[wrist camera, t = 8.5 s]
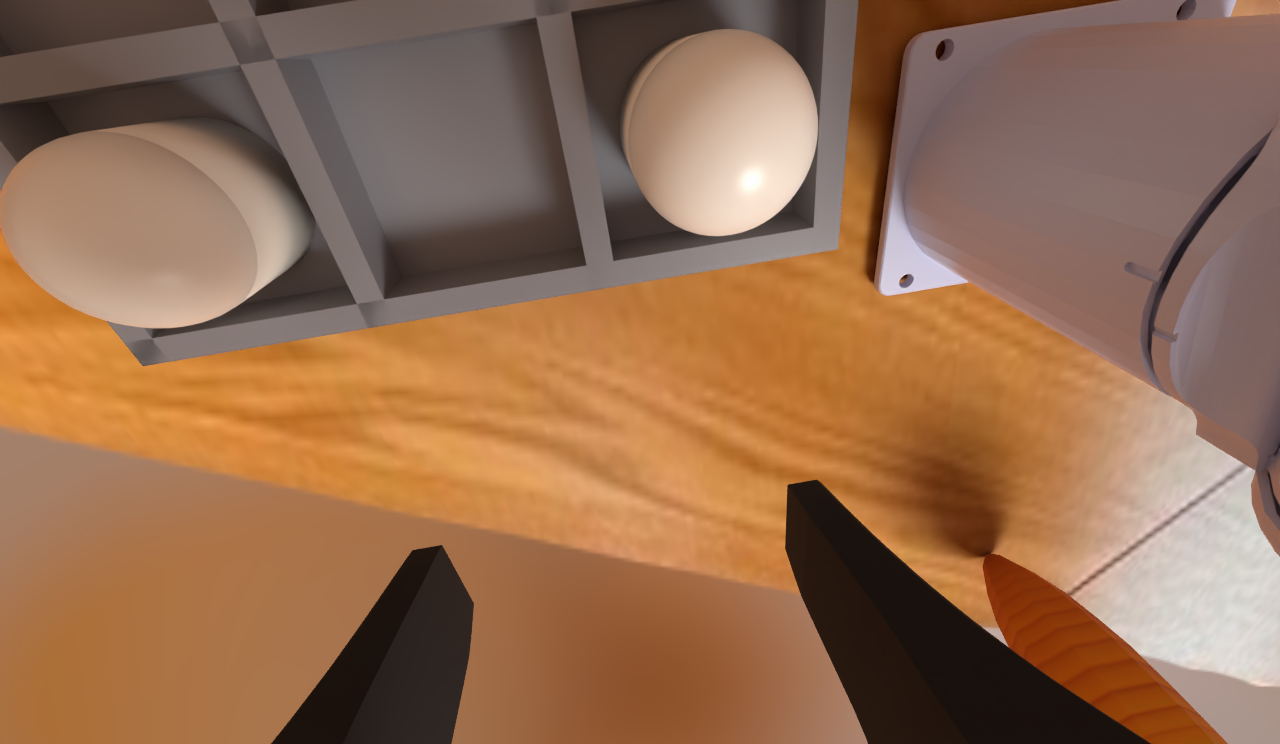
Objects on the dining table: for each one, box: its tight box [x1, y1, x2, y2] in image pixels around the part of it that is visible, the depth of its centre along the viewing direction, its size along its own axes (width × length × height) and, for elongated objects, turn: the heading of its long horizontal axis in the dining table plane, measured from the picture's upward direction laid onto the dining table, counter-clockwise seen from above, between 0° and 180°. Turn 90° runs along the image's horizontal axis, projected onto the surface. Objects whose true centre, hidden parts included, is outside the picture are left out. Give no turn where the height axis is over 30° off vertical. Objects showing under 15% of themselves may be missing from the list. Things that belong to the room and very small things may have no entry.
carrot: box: [983, 553, 1227, 744], centre depth 22 cm, size 5×5×15 cm
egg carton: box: [0, 0, 859, 366], centre depth 11 cm, size 21×14×6 cm
